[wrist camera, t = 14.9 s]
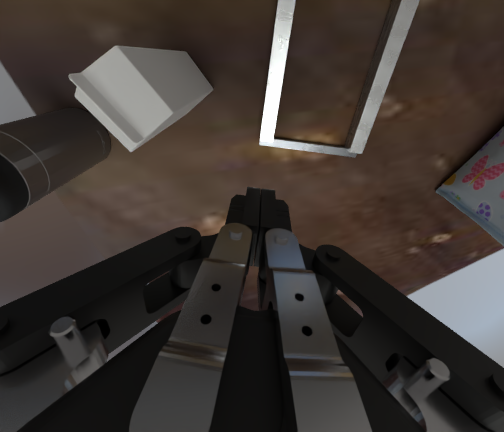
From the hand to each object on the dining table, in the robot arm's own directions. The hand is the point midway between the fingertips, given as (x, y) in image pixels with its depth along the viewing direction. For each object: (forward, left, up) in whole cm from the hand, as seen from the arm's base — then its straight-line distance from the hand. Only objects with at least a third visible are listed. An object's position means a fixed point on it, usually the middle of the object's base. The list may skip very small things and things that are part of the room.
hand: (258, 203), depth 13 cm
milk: (-12, +2, -29) cm, 32 cm away
